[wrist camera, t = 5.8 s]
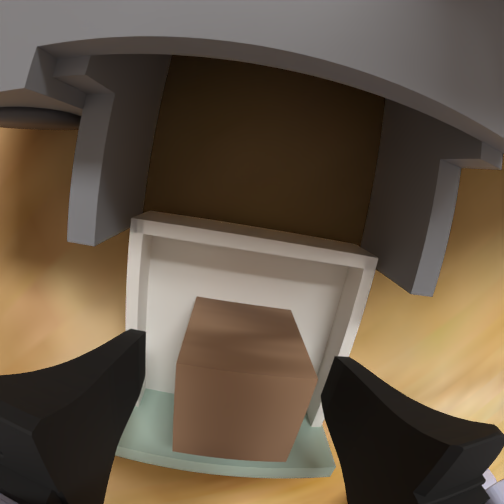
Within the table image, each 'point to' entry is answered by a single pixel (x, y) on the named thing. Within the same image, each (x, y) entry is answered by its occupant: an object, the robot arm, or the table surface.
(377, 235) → the box
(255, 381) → the walnut block
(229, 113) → the table surface
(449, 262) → the table surface
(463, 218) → the table surface
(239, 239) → the drawer
